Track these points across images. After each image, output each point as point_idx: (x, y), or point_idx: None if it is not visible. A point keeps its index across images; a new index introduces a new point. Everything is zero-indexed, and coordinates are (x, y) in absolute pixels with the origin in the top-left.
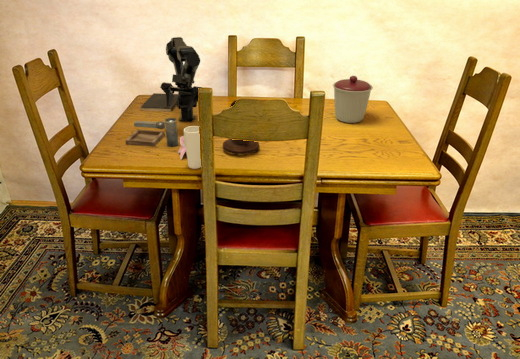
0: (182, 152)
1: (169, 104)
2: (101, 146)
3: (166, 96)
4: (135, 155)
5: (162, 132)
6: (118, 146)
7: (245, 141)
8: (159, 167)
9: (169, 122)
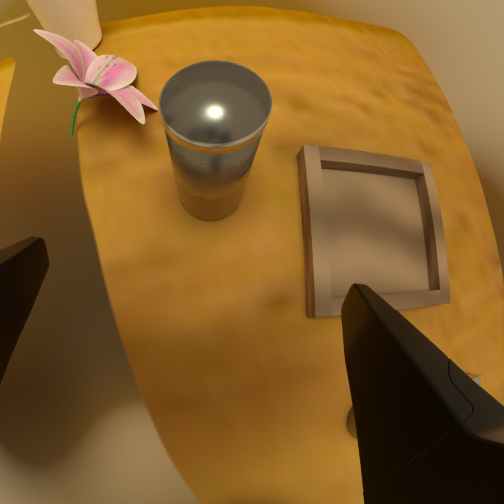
0: (124, 70)
1: (355, 342)
2: (467, 152)
3: (478, 387)
4: (329, 77)
5: (320, 294)
6: (429, 151)
7: None
8: (199, 17)
9: (210, 64)
